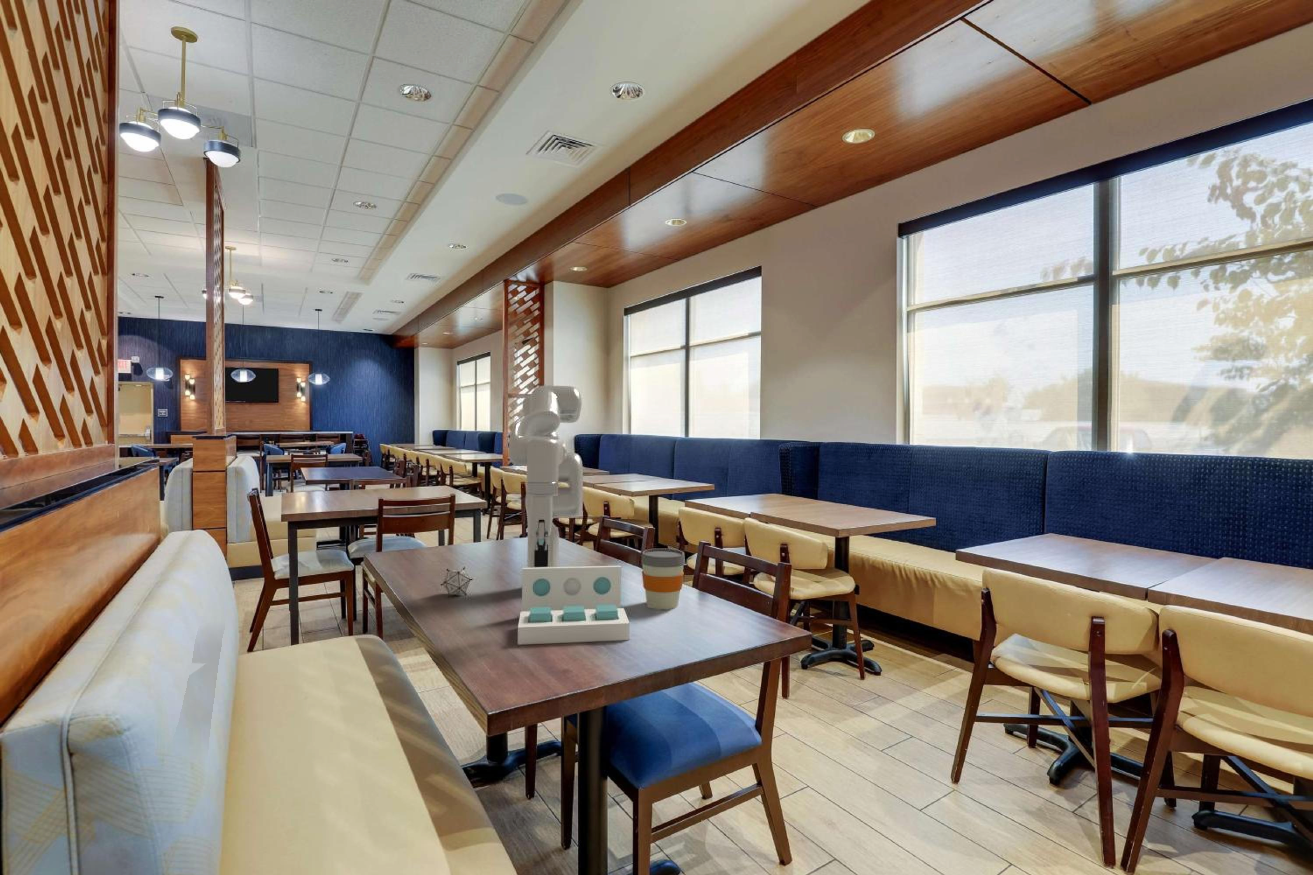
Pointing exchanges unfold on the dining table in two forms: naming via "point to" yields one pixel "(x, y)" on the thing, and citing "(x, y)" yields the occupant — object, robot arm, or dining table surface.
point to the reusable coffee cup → (662, 577)
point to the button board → (572, 628)
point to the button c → (606, 612)
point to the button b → (573, 613)
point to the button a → (540, 614)
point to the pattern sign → (571, 587)
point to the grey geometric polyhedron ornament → (456, 582)
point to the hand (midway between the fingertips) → (541, 562)
